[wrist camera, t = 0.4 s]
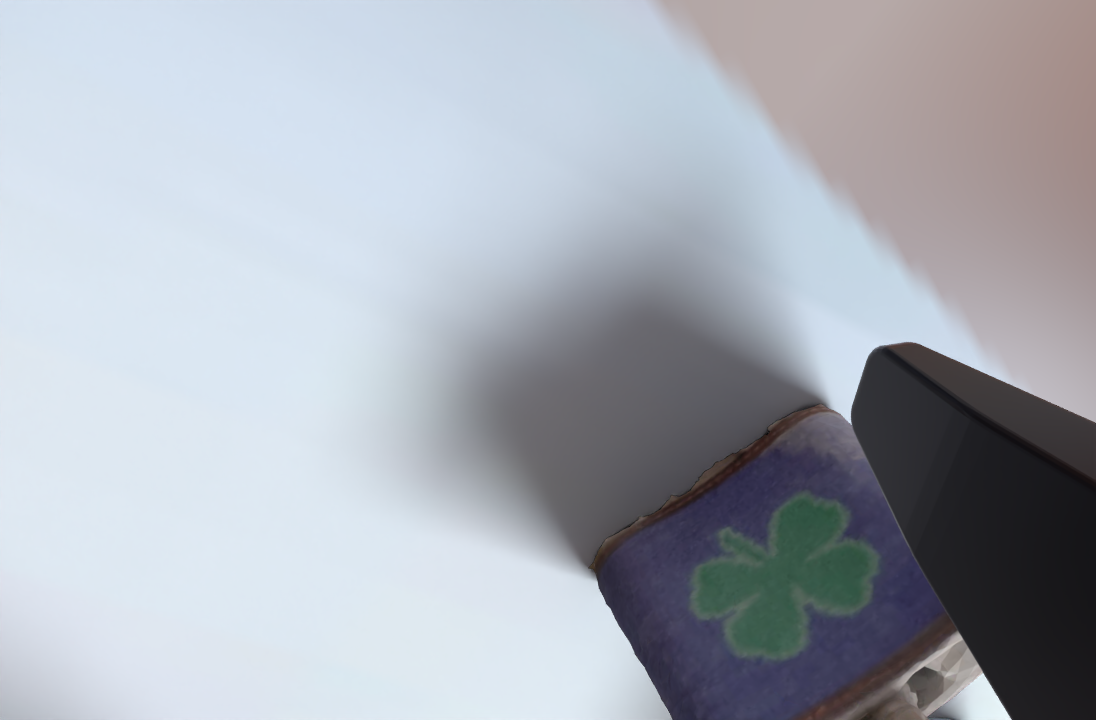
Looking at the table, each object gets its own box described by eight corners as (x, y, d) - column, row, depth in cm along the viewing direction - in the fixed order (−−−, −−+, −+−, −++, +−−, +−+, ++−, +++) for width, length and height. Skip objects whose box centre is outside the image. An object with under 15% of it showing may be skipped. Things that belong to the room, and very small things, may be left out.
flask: (823, 386, 30) (1096, 628, 21) (850, 446, 32) (1113, 694, 23) (574, 555, 30) (744, 868, 21) (614, 606, 32) (787, 916, 23)
